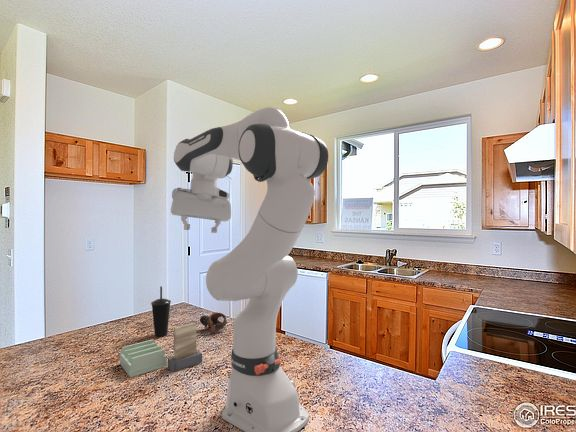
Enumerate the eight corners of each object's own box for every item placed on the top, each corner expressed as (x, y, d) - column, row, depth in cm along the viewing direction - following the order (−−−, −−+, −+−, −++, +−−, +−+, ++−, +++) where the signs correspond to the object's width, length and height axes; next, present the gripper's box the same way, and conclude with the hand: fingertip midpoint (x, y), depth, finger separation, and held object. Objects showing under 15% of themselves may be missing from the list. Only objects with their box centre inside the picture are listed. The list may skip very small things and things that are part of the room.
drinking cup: (146, 337, 127) (146, 287, 127) (159, 330, 135) (159, 284, 135) (162, 339, 125) (162, 289, 125) (174, 332, 132) (174, 285, 133)
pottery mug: (227, 326, 142) (230, 312, 138) (221, 342, 133) (224, 329, 130) (201, 319, 142) (203, 306, 138) (194, 335, 133) (196, 322, 129)
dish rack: (166, 366, 103) (166, 349, 103) (130, 377, 95) (130, 359, 95) (154, 354, 112) (154, 338, 112) (120, 363, 104) (120, 347, 104)
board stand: (202, 362, 105) (202, 353, 105) (172, 372, 99) (172, 362, 99) (196, 357, 109) (196, 349, 109) (167, 367, 102) (167, 357, 102)
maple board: (196, 362, 105) (196, 323, 105) (175, 369, 101) (175, 328, 101) (194, 360, 107) (194, 322, 107) (173, 367, 102) (173, 327, 102)
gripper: (175, 184, 100) (171, 226, 97) (233, 194, 112) (232, 232, 109) (170, 188, 106) (166, 229, 103) (226, 198, 117) (224, 235, 114)
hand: (200, 231), depth 106 cm, fingers open, 8 cm apart
